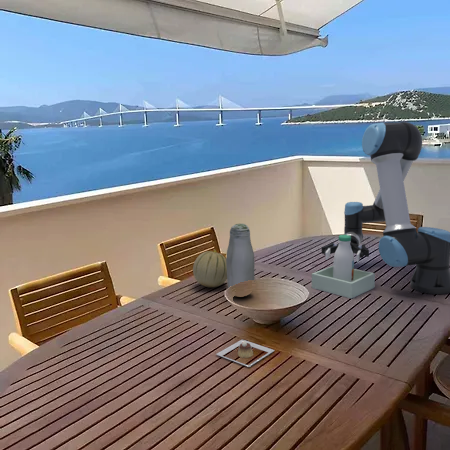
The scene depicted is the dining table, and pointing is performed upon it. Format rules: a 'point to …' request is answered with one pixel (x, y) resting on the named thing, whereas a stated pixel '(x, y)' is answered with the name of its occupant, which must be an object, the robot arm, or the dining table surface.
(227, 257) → the glass bottle
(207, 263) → the cantaloupe
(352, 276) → the milk bottle
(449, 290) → the robot arm
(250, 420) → the dining table surface
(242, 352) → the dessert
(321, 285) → the tote
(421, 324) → the dining table surface
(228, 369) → the dining table surface
